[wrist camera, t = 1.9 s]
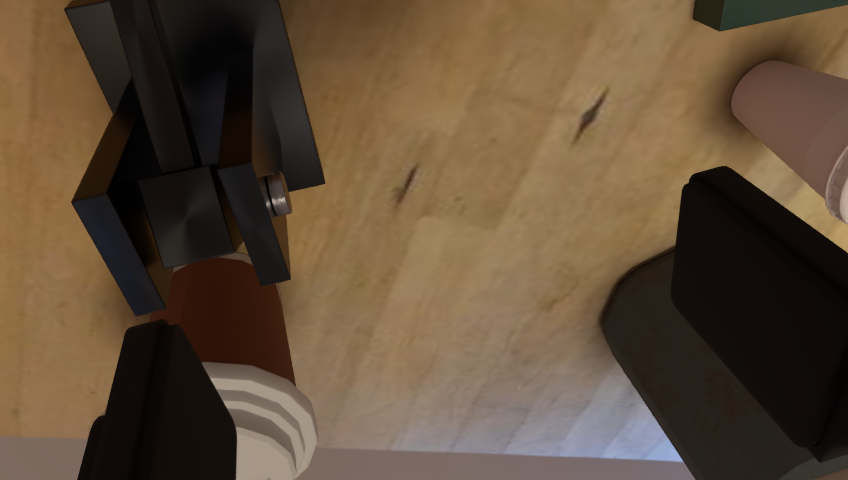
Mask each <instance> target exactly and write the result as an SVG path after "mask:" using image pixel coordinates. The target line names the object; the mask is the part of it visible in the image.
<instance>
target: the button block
mask: <svg viewBox="0 0 848 480" xmlns="http://www.w3.org/2000/svg"><path fill="white" fill-rule="evenodd" d="M843 5H848V0H696V6H695V13H694V20H696V21H698V22H700V23H702V24H704V25H707V26H709V27H711V28H713V29H715V30H717V31H725V30H729V29H734V28H739V27H744V26H748V25H753V24H758V23H763V22H767V21H772V20H777V19H782V18H786V17H791V16H796V15H801V14H805V13H810V12H815V11H820V10H824V9H829V8H834V7H839V6H843Z"/></svg>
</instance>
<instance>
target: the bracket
mask: <svg viewBox="0 0 848 480" xmlns="http://www.w3.org/2000/svg"><path fill="white" fill-rule="evenodd" d="M156 3H157V7H158V10H159V14H160V17H161V21H162V24H163V28H164V31H165V35H166V38H167V42H168V45H169V49H170V52H171V56H172V59H173V63H174V66H175V70H176V73H177V77H178V80H179V84H180V87H181V91H182V94H183V98H184V101H185V105H186V109H187V112H188V116H189V119H190V123H191V126H192V130H193V133H194V137H195V140H196V144H197V147H198V151H199V154H200V158H201V161H202V166H205V165H209V164H214V163H218V166H217V172H218V175H219V178H220V180H221V183H222V186H223V188H224V191H225V193H226V196H227V199H228V201H229V204H230V207H231V209H232V212H233V215H234V217H235V220H236V222H237V225H238V228H239V230H240V233H241V236H242V238H243V241H244V244H245V246H246V249H247V251H248V254H249V257H250V259H251V262H252V265H253V267H254V270H255V273H256V275H257V278H258V281H259V283H260V286H266V285H270V284H274V283H279V282H283V281H287V280H290V279H291V273H290V260H289V247H288V233H287V220H286V214H291V213H292V206H291V200H290V196H289V192H291V191H295V190H300V189H304V188H309V187H313V186H318V185H322V184H325V179H324V174H323V169H322V166H321V162H320V158H319V154H318V150H317V146H316V142H315V138H314V135H313V131H312V127H311V123H310V119H309V115H308V111H307V107H306V104H305V100H304V96H303V92H302V88H301V84H300V80H299V76H298V73H297V69H296V65H295V61H294V57H293V53H292V49H291V45H290V41H289V38H288V34H287V30H286V26H285V22H284V18H283V14H282V10H281V7H280V3H279V0H156ZM64 10H65V13H66V15H67V17H68V19H69V21H70V23H71V25H72V28H73V30H74V32H75V34H76V36H77V38H78V40H79V43H80V45H81V47H82V49H83V51H84V53H85V55H86V57H87V60H88V62H89V64H90V66H91V68H92V70H93V72H94V75H95V77H96V79H97V81H98V83H99V85H100V87H101V90H102V92H103V94H104V96H105V98H106V100H107V102H108V104H109V107H110V109H111V111H112V113H113V115H112V117H111V120H110V122H109V124H108V126H107V128H106V130H105V132H104V134H103V136H102V138H101V140H100V142H99V145H98V147H97V149H96V151H95V153H94V155H93V157H92V159H91V161H90V163H89V165H88V168H87V170H86V172H85V174H84V176H83V178H82V180H81V182H80V184H79V186H78V188H77V190H76V193H75V195H74V197H73V199H72V201H71V203H72V205H73V207H74V209H75V210H76V212H77V214H78V216H79V217H80V219H81V221H82V223H83V224H84V226H85V228H86V230H87V232H88V233H89V235H90V237H91V239H92V240H93V242H94V244H95V246H96V247H97V249H98V251H99V253H100V254H101V256H102V258H103V260H104V261H105V263H106V265H107V267H108V269H109V270H110V272H111V274H112V276H113V277H114V279H115V281H116V283H117V284H118V286H119V288H120V290H121V291H122V293H123V295H124V297H125V299H126V300H127V302H128V304H129V306H130V307H131V309H132V311H133V313H134V314H135V316H140V315H144V314H148V313H152V312H156V311H161V310H165V309H166V308H167V303H168V297H169V292H170V286H171V281H172V275H173V270H174V267H173V268H169V269H164V268H163V266H162V263H161V260H160V256H159V253H158V250H157V247H156V243H155V240H154V237H153V234H152V230H151V227H150V224H149V221H148V217H147V214H146V211H145V208H144V204H143V201H142V198H141V195H140V192H139V188H138V185H137V181H138V180H142V179H146V178H150V177H154V176H158V175H162V174H161V172H160V169H159V166H158V162H157V159H156V156H155V152H154V149H153V146H152V142H151V139H150V136H149V132H148V129H147V126H146V122H145V119H144V116H143V112H142V109H141V106H140V102H139V99H138V96H137V92H136V89H135V86H134V82H133V79H132V76H131V72H130V69H129V66H128V62H127V59H126V55H125V52H124V49H123V45H122V42H121V39H120V35H119V32H118V29H117V25H116V22H115V19H114V15H113V12H112V9H111V5H110V2H109V0H76V1H72V2H70V3H69V4H68V6H67V7H66V8H65V9H64Z"/></svg>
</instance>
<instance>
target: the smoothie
mask: <svg viewBox="0 0 848 480" xmlns="http://www.w3.org/2000/svg"><path fill="white" fill-rule="evenodd" d="M731 109H732V113H733V115H734V116H735V118H736V119H738V120H739V121H740V122H741V123H742V124H743V125H744V126H745V127H746V128H747V129H748V130H750V131H751V132H752V133H753V134H754V135H755V136H756V137H757V138H758V139H759V140H761V141H762V142H763V143H764V144H765V145H766V146H767V147H768V148H769V149H770V150H771V151H773V152H774V153H775V154H776V155H777V156H778V157H779V158H780V159H781V160H782V161H783V162H785V163H786V164H787V165H788V166H789V167H790V168H791V169H792V170H793V171H794V172H795V173H797V174H798V175H799V176H800V177H801V178H802V179H803V180H804V181H805V182H806V183H808V184H809V186H810V187H811V188H813V189H814V190H815V191H816V192H817V193H818V194H819V195H821V196H822V197H823V198H824V199H825V203H826V206H827V208H828V210H829V212H830V214H831V215H832V216H834V217H835V218H837V219H838V220H839V221H842V222H844V223H846V224H847V225H848V80H847V79H844V78H840V77H836V76H833V75H829V74H825V73H822V72H818V71H814V70H811V69H807V68H804V67H800V66H796V65H793V64H789V63H785V62H782V61H778V60H771V61H766V62H763V63H761V64H759V65H757V66H755V67H754V68H752V69H751V70H750V71H749V72H747V73H746V74H745V75H744V77H743V78H742V79H741V80H740V82H739V83H738V85H737V86H736V88H735V90H734V93H733V96H732V100H731Z"/></svg>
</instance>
